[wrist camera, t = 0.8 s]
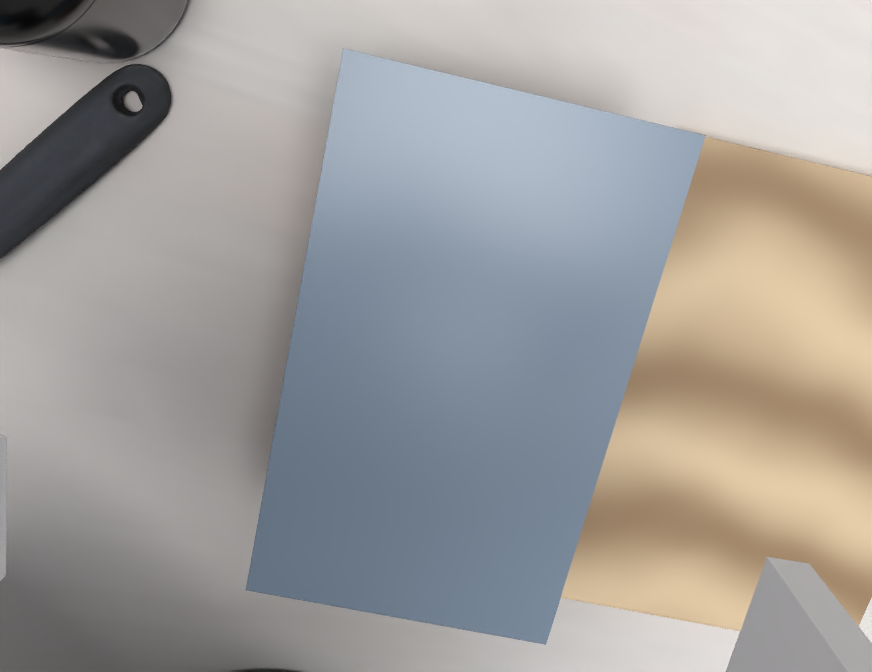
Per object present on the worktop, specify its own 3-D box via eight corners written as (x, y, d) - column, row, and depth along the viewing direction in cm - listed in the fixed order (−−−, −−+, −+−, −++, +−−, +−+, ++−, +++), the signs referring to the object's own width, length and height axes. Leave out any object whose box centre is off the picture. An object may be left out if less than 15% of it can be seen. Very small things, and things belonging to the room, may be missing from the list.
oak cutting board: (830, 629, 36) (847, 651, 34) (543, 575, 35) (548, 595, 33) (1011, 212, 30) (1040, 217, 29) (678, 132, 29) (691, 133, 28)
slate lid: (530, 576, 30) (545, 644, 26) (269, 527, 29) (245, 589, 25) (662, 132, 25) (705, 135, 21) (355, 58, 24) (343, 48, 21)
